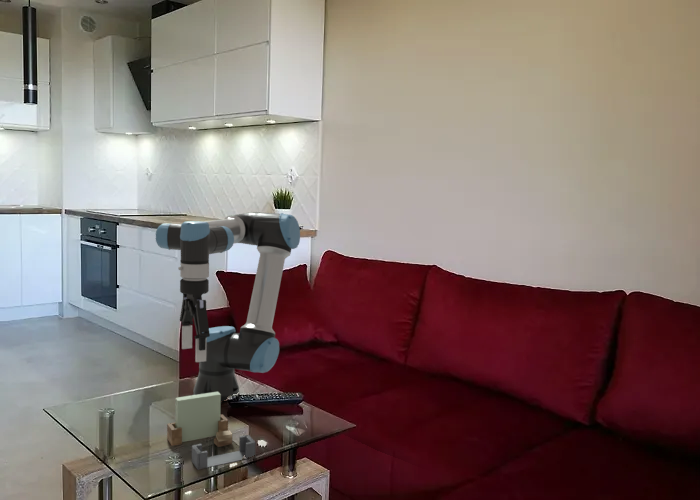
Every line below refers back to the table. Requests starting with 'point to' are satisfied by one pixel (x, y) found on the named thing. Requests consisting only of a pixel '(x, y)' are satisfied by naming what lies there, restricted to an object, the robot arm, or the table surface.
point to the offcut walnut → (222, 442)
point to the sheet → (198, 415)
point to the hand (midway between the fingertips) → (193, 354)
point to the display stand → (204, 461)
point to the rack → (176, 433)
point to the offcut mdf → (224, 435)
